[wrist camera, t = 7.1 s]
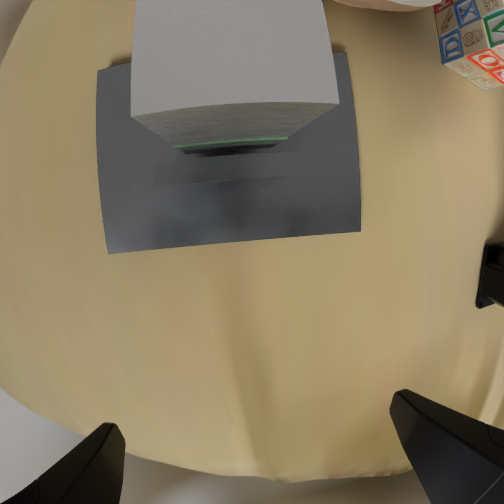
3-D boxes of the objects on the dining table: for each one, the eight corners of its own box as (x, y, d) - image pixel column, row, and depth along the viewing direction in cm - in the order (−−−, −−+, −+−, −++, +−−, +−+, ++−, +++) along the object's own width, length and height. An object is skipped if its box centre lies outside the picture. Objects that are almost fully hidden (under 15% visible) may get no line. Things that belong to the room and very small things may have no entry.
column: (264, 52, 12) (307, -59, 4) (272, 149, 13) (342, 106, 5) (181, 58, 12) (143, -52, 3) (185, 155, 13) (128, 119, 5)
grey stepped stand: (339, 59, 16) (388, 15, 9) (353, 228, 19) (412, 253, 12) (104, 76, 15) (55, 36, 8) (114, 249, 18) (64, 285, 11)
